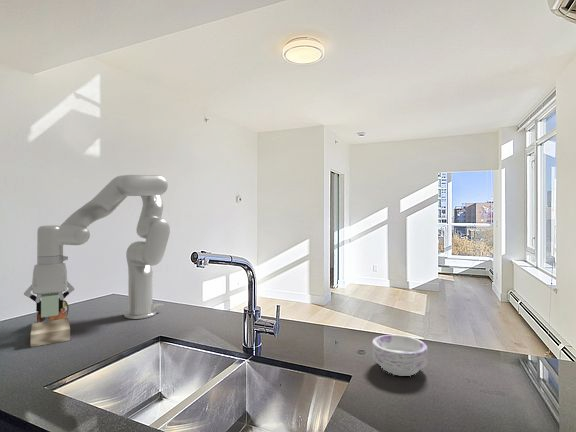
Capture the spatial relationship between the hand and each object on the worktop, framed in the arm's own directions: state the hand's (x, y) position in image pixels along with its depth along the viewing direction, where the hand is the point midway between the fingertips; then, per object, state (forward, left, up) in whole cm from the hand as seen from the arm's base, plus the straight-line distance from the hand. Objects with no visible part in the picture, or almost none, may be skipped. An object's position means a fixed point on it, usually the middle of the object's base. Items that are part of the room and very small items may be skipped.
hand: (49, 311), depth 122 cm
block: (0, 0, -1) cm, 1 cm away
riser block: (0, 0, -9) cm, 9 cm away
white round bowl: (-82, +85, -10) cm, 119 cm away
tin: (-1, -17, -10) cm, 20 cm away
